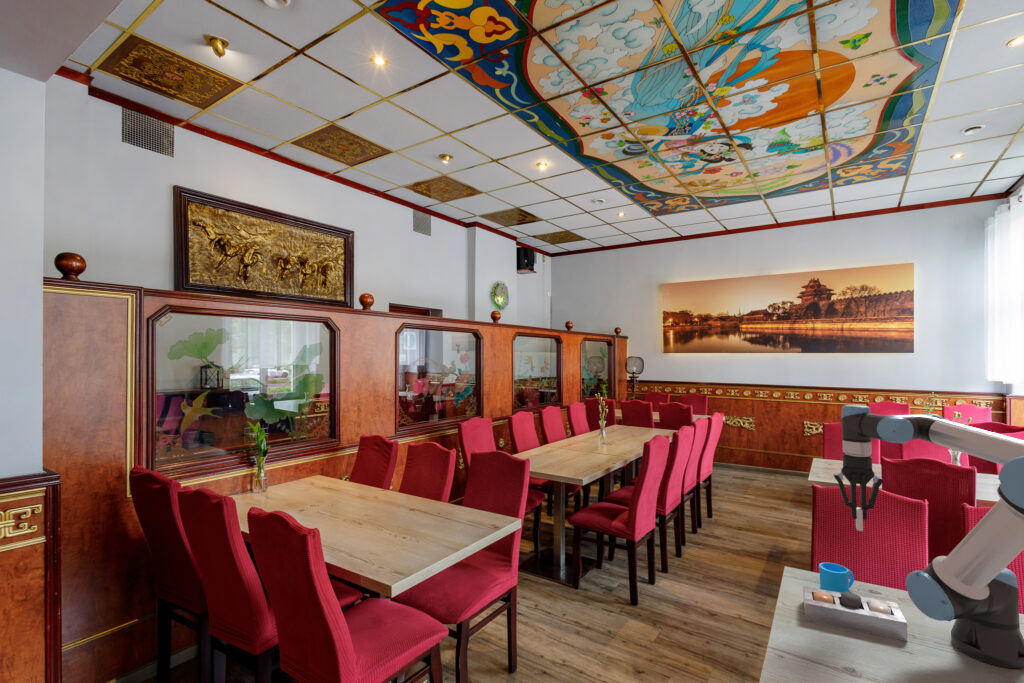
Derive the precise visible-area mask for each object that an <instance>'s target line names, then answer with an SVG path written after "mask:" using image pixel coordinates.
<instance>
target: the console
mask: <svg viewBox="0 0 1024 683" xmlns="http://www.w3.org/2000/svg"><path fill="white" fill-rule="evenodd" d="M802 592H803V593H802V594H803V596H802V597H803V599H802V600H803V607H804V613H805V614H804V615H805V620H806V621H810V622H815V623H819V624H824V625H828V626H832V627H833V626H834V627H839V628H843V629H848V630H851V631H858V632H863V633H866V634H867V633H868V634H871V635H872V634H873V635H876V636H880V637H886V638H891V639H895V640H900V641H905V642H909V640H908V622H907V620H906V618H905V616H904V614H903V613H902V611H901V609H900V606H899V605H898V603H897V602H894V601H887V600H883V599H882V600H881V599H877V598H876V599H875V598H871V597H864V596H861V595H859V596H860V597H861V609H858V608H852V607H847V606H842V605H841V593H839V592H833V591H828V590H822V589H820V588H816V587H811V586H805V585H803V586H802ZM815 592H822V593H826V594H829V595H831V596H832V597H833V604H831V603H826V602H821V601H816V600H814V593H815ZM872 602H876V603H881V604H884V605H887V606H888V607H890V608H891V615H889V614H884V613H878V612H873V611H870V608H869V604H870V603H872Z"/></svg>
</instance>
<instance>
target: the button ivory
mask: <svg viewBox="0 0 1024 683" xmlns="http://www.w3.org/2000/svg"><path fill="white" fill-rule="evenodd" d="M869 608H870V611H873V612H878V613H884V614H889V615H891V608H890V607H888V606H887V605H884V604H881V603H876V602H872V603H870V604H869Z"/></svg>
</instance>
